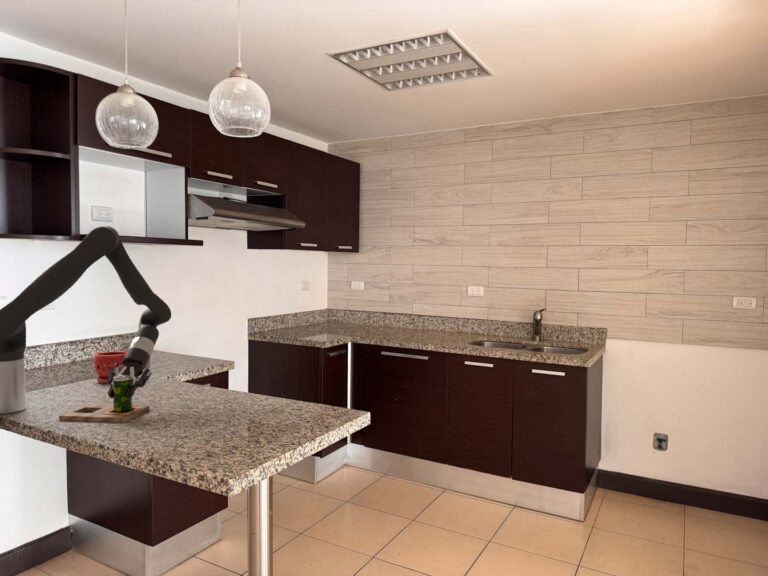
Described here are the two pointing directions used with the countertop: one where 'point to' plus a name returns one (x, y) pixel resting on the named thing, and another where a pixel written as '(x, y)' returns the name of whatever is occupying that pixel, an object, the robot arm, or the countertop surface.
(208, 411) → the countertop surface
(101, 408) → the socket board
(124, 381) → the beer can
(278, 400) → the countertop surface
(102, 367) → the plant pot
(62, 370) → the countertop surface
